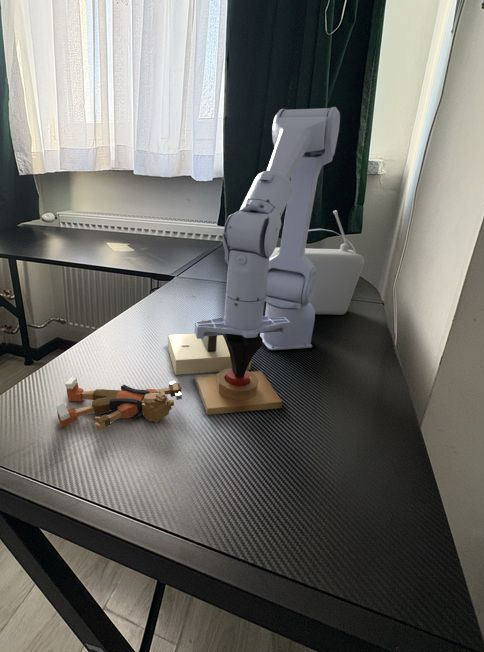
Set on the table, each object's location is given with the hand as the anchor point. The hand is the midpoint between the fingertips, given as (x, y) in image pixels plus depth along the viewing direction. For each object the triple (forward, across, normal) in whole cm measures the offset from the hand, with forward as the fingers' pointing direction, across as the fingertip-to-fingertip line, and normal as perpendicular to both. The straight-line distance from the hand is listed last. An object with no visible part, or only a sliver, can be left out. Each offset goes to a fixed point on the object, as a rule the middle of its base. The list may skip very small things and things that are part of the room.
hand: (238, 373), depth 61 cm
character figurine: (+4, -19, -2) cm, 20 cm away
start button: (+2, 0, 0) cm, 2 cm away
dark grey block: (+1, -2, +12) cm, 12 cm away
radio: (+4, +29, +33) cm, 44 cm away
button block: (+4, 0, 0) cm, 4 cm away
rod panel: (+4, -2, +12) cm, 13 cm away
